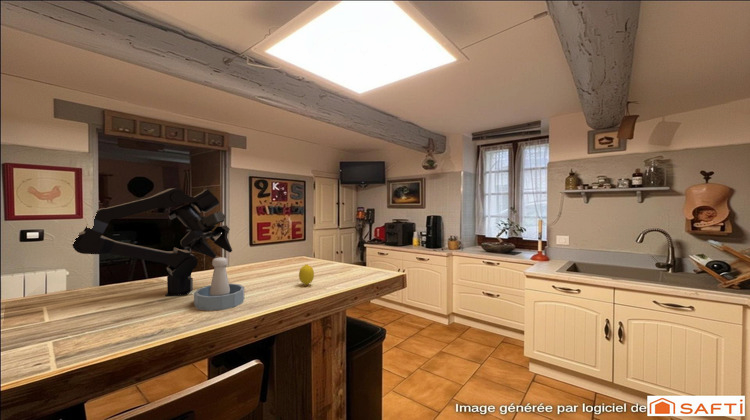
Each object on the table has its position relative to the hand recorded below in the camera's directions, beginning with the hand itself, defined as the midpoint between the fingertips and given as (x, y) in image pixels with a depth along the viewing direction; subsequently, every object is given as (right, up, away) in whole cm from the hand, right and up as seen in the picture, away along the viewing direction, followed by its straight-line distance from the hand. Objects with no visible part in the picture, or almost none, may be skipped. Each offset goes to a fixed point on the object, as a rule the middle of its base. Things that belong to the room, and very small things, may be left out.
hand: (223, 254), depth 106 cm
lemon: (+25, -14, +13) cm, 31 cm away
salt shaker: (+2, -13, -7) cm, 15 cm away
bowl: (+2, -14, -7) cm, 16 cm away
